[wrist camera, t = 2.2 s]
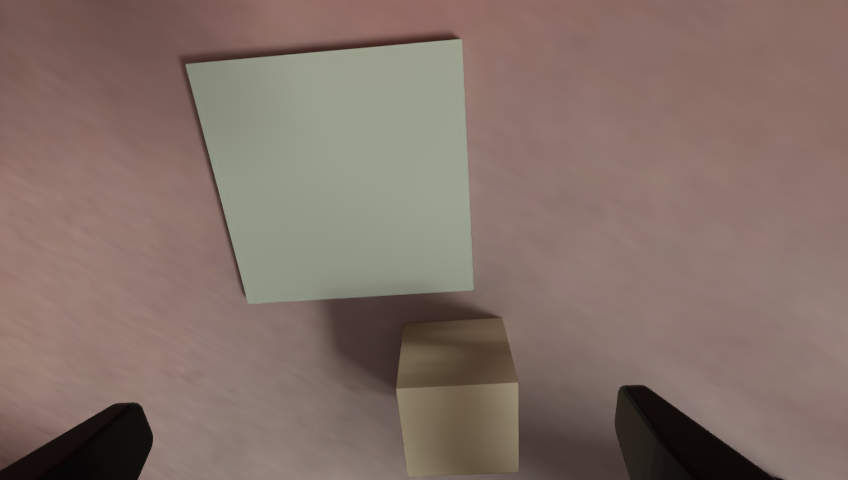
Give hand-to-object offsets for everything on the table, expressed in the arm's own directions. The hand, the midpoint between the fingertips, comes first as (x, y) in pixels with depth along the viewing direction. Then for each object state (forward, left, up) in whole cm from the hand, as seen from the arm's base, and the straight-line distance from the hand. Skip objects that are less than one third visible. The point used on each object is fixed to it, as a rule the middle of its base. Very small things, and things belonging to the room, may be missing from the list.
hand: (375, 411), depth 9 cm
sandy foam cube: (+1, -8, -12) cm, 14 cm away
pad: (-3, +1, -11) cm, 12 cm away
